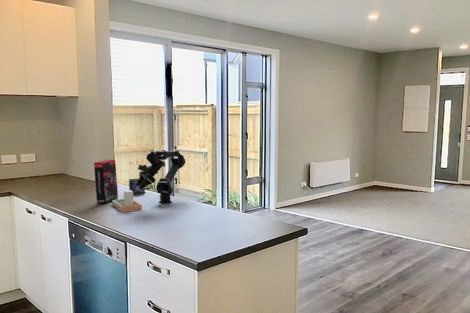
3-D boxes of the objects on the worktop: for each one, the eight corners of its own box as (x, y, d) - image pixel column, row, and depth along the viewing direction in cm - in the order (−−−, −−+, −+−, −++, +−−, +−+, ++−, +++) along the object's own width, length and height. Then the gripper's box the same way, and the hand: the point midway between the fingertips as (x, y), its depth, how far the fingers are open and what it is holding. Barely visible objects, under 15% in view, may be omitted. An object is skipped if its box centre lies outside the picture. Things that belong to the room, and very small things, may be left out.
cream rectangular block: (131, 207, 247) (130, 190, 246) (133, 209, 242) (133, 191, 241) (124, 208, 245) (124, 190, 244) (127, 210, 240) (126, 192, 239)
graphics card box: (105, 204, 256) (103, 162, 253) (95, 204, 257) (93, 162, 254) (118, 198, 272) (116, 159, 269) (109, 198, 274) (107, 159, 271)
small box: (130, 194, 286) (129, 180, 285) (129, 193, 292) (128, 179, 291) (145, 193, 290) (144, 179, 289) (143, 191, 296) (143, 178, 295)
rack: (141, 209, 241) (141, 204, 241) (122, 212, 235) (121, 207, 235) (130, 202, 261) (130, 197, 261) (112, 204, 255) (112, 200, 255)
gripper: (141, 158, 254) (125, 176, 250) (149, 161, 237) (131, 181, 234) (154, 169, 258) (138, 187, 255) (162, 173, 242) (145, 192, 238)
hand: (138, 187), depth 245 cm, fingers open, 9 cm apart
